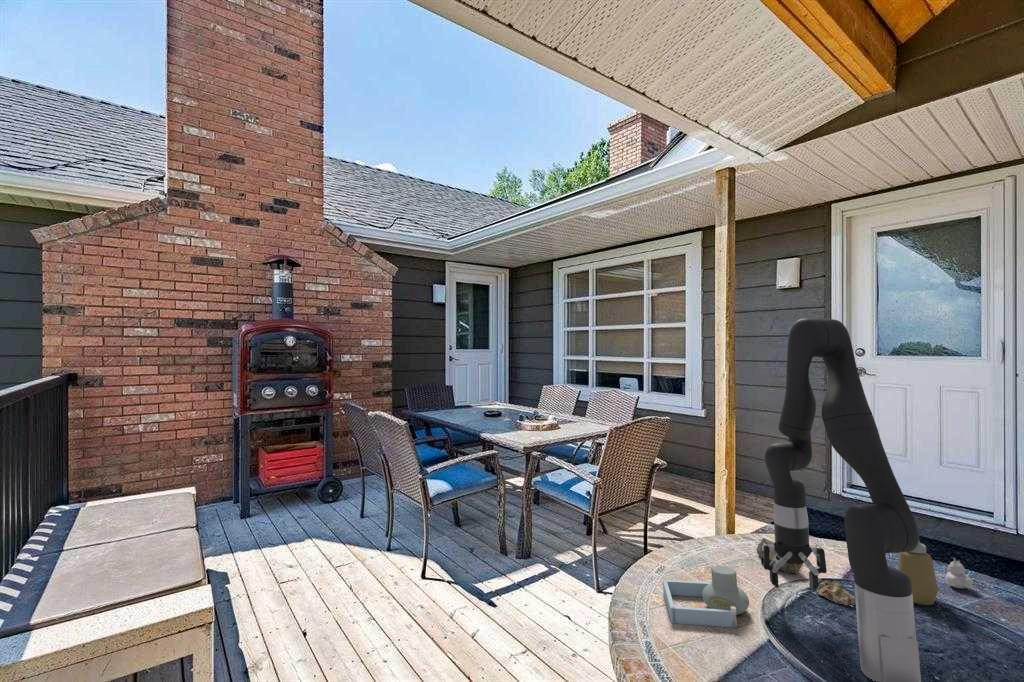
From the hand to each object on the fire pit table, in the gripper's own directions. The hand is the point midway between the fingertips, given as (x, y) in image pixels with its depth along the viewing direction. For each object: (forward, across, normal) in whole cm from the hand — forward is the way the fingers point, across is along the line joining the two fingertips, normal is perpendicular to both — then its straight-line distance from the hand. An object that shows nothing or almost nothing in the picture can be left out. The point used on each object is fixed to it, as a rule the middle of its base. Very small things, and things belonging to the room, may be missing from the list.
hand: (794, 587), depth 118 cm
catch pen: (+6, -24, -2) cm, 25 cm away
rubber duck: (+7, +48, +21) cm, 53 cm away
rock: (+7, +6, +31) cm, 32 cm away
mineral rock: (+7, +14, +10) cm, 18 cm away
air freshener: (+7, -17, -1) cm, 18 cm away
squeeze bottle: (+7, +33, +12) cm, 36 cm away
